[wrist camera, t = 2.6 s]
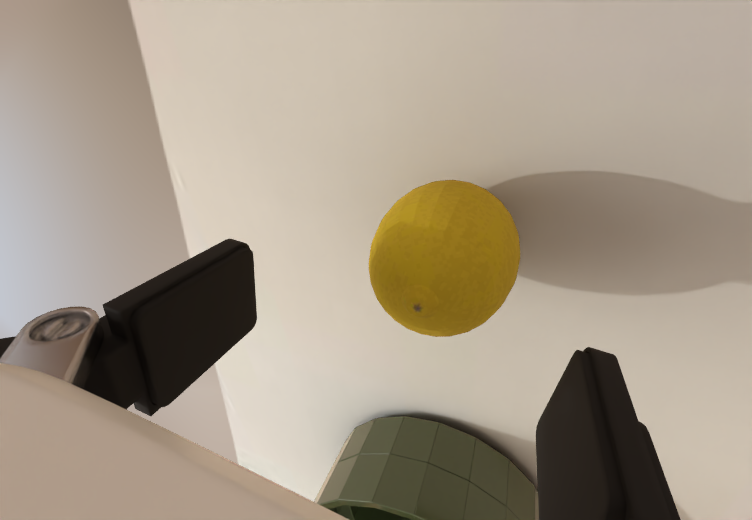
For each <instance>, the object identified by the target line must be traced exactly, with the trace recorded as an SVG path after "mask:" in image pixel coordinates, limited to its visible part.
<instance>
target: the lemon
mask: <svg viewBox="0 0 752 520" xmlns="http://www.w3.org/2000/svg"><path fill="white" fill-rule="evenodd" d="M519 262H520V244H519V235H518V231H517V229H516V226H515V224H514V221H513V219H512V216H511V214H510V213H509V212H508V210H507V209H506V208H505V206H504V205H503V204H502V203H501V201H500V200H499V199H497V198H496V197H495V196H493V195H492V194H491V193H490V192H488V191H487V190H486V189H483V188H481V187H479V186H477V185H474V184H472V183H469V182H463V181H456V180H445V181H435V182H431V183H429V184H426V185H423V186H420V187H417V188H415V189H413V190H412V191H411V192H409V193H408V194H406V195H405V196H403V197H402V198H401V199H399V200H398V201H397V202H396V203H395V204H394V205H393V207H392V208H391V209H390V210H389V211H388V213H387V214H386V215H385V216H384V218H383V219H382V221H381V223H380V225H379V227H378V230H377V232H376V234H375V237H374V239H373V242H372V245H371V250H370V258H369V273H370V280H371V284H372V287H373V290H374V292H375V295H376V297H377V300H378V301H379V302H380V304H381V305H382V307H383V308H384V310H385V311H386V312H387V313H388V314H389V315H390V316H391V317H392V318H393V319H394V320H395V321H397V322H398V323H400V324H401V325H403V326H404V327H406V328H408V329H410V330H413V331H415V332H417V333H420V334H425V335H430V336H435V337H437V336H453V335H457V334H461V333H465V332H468V331H470V330H472V329H474V328H476V327H478V326H480V325H481V324H483V323H484V322H486V321H487V320H488V319H489V318H490V317H491V316H492V315H493V314H494V313H495V312H496V311H497V310H498V309H499V308H500V307H501V306H502V304H503V303H504V301H505V299H506V297H507V296H508V294H509V292H510V290H511V289H512V287H513V285H514V283H515V280H516V276H517V272H518V267H519Z"/></svg>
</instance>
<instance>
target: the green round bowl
mask: <svg viewBox="0 0 752 520" xmlns="http://www.w3.org/2000/svg"><path fill="white" fill-rule="evenodd" d="M314 502H315V503H317V504H319V505H321V506H323V507H325V508H327V509H329V510H331V511H333V512H335V513H337V514H339V515H341V516H343V517H345V518H347V519H349V520H539V507H538V492H537V490H536V488H535V486H534V485H533V484H532V483H531V481H530V480H529V479H528V478H527V477H526V476H525V475H524V474H523V473H522V472H521V471H520V470H519V469H518V468H517V467H516V466H515V465H514V464H513V463H512V462H511V460H509V459H508V458H507V457H505V456H504V455H502V454H501V453H499V452H498V451H496V450H495V449H493V448H492V447H490V446H489V445H487V444H486V443H484V442H483V441H481V440H479V439H478V438H476V437H474V436H472V435H469V434H467V433H464V432H462V431H460V430H457V429H455V428H452V427H450V426H447V425H445V424H442V423H439V422H435V421H430V420H424V419H419V418H413V417H408V416H399V417H385V418H377V419H373V420H371V421H369V422H367V423H365V424H362V425H360V426H358V427H356V428H355V429H354V430H353V432H352V433H351V434H350V436H349V437H348V438H347V440H346V441H345V443H344V445H343V446H342V448H341V450H340V452H339V454H338V456H337V458H336V460H335V462H334V464H333V466H332V468H331V470H330V472H329V473H328V476H327V477H326V479H325V481H324V483H323V485H322V487H321V489H320V491H319V493H318V495H317V496H316V498H315V500H314Z"/></svg>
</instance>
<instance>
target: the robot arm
mask: <svg viewBox="0 0 752 520" xmlns="http://www.w3.org/2000/svg"><path fill="white" fill-rule="evenodd" d="M103 308H104V311H105V314H106V315H105V316H103V317H101V318H100V319H99V316H98V315H97V313H96V311H94V310H92V309H90V308H86V307H68V308H61V309H57V310H54V311H50V312H47V313H45V314H43V315H41V316H39V317H36V318H35V319H33V320H32V321H30V322H28V323H27V324H26V325H25V326H24V327H23V328H22V329H21V331H20V332H19V333H18V335H17V336H16V337H9V338H3V339H0V520H349V519H347V518H345V517H343V516H341V515H339V514H337V513H335V512H333V511H331V510H329V509H327V508H325V507H323V506H321V505H319V504H317V503H315V502H313V501H311V500H309V499H307V498H305V497H303V496H301V495H299V494H297V493H295V492H293V491H291V490H289V489H287V488H285V487H283V486H281V485H279V484H276V483H274V482H272V481H270V480H268V479H266V478H264V477H262V476H260V475H258V474H256V473H254V472H252V471H250V470H248V469H246V468H244V467H242V466H240V465H238V464H236V463H234V462H232V461H230V460H228V459H226V458H224V457H222V456H220V455H218V454H216V453H214V452H212V451H210V450H208V449H206V448H204V447H201V446H200V445H198V444H196V443H194V442H191V441H189V440H187V439H185V438H183V437H181V436H179V435H177V434H175V433H173V432H171V431H169V430H167V429H165V428H163V427H161V426H159V425H157V424H155V423H152V422H151V421H148V420H146V419H144V418H142V417H140V416H138V415H136V414H134V413H132V412H130V411H128V410H127V408H128V407H129V406H130V405H132V404H133V403H134V405H135V408H136V409H137V410H139V411H141V412H143V413H145V414H147V415H149V416H152V415H153V414H154V413H155V412H156V411H158V409H159V408H161V407H165V406H167V405H169V404H170V403H171V402H172V401H174V399H176V398H177V397H178V396H179V395H180V394H181V393H182V392H183V391H184V390H185V389H187V388H188V387H189V386H190V385H191V384H192V383H193V382H194V381H195V380H196V379H198V378H199V377H200V376H201V375H202V374H203V373H204V372H205V371H207V370H208V369H209V368H210V367H211V366H212V365H213V364H214V363H215V362H216V361H218V360H219V359H220V358H221V357H222V356H223V355H224V354H225V353H226V352H227V351H229V350H230V349H231V348H232V347H233V346H234V345H235V344H236V343H237V342H239V341H240V340H241V339H242V338H243V337H244V336H245V335H246V334H247V333H248V332H250V331H251V330H252V329H253V327H254V326H255V324H256V320H257V313H256V296H255V279H254V262H253V252H252V251H251V250H250V248H249V246H248V245H247V244H246V243H243V242H240V241H236V240H233V239H227V240H225V241H223V242H221V243H219V244H217V245H215V246H213V247H211V248H209V249H208V250H206V251H204V252H202V253H200V254H198V255H196V256H194V257H192V258H190V259H189V260H187V261H185V262H183V263H181V264H179V265H177V266H175V267H173V268H172V269H170V270H168V271H166V272H164V273H162V274H160V275H158V276H157V277H154V278H153V279H151V280H149V281H147V282H145V283H143V284H141V285H139V286H138V287H136V288H134V289H132V290H130V291H128V292H126V293H124V294H122V295H120V296H119V297H117V298H115V299H113V300H111V301H109V302H107V303H105V304H103ZM536 452H537V480H538V507H539V520H680V517H679V514H678V512H677V509H676V506H675V503H674V501H673V498H672V495H671V492H670V489H669V487H668V484H667V481H666V478H665V476H664V473H663V470H662V467H661V464H660V462H659V459H658V456H657V453H656V451H655V448H654V445H653V442H652V439H651V437H650V434H649V432H648V430H647V428H646V426H645V425H644V424H643V423H641V422H638V419H637V416H636V413H635V410H634V407H633V404H632V401H631V398H630V395H629V393H628V390H627V387H626V384H625V381H624V378H623V375H622V372H621V369H620V366H619V363H618V360H617V358H616V356H615V355H613V354H610V353H607V352H603V351H600V350H597V349H593V348H590V347H587V348H586V349H585V350H584V351H579V350H576V351H575V353H574V354H573V356H572V358H571V360H570V362H569V364H568V366H567V368H566V370H565V371H564V373H563V375H562V377H561V379H560V381H559V383H558V385H557V387H556V389H555V391H554V393H553V395H552V396H551V398H550V400H549V402H548V404H547V406H546V408H545V410H544V412H543V414H542V416H541V418H540V420H539V422H538V425H537V429H536Z"/></svg>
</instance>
